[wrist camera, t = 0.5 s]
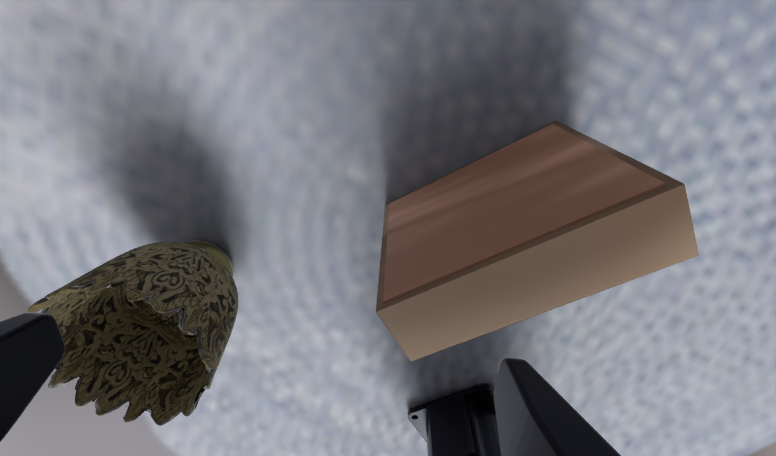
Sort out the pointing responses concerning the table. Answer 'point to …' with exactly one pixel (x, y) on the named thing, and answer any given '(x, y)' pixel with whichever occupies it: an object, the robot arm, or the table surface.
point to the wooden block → (524, 237)
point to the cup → (146, 328)
